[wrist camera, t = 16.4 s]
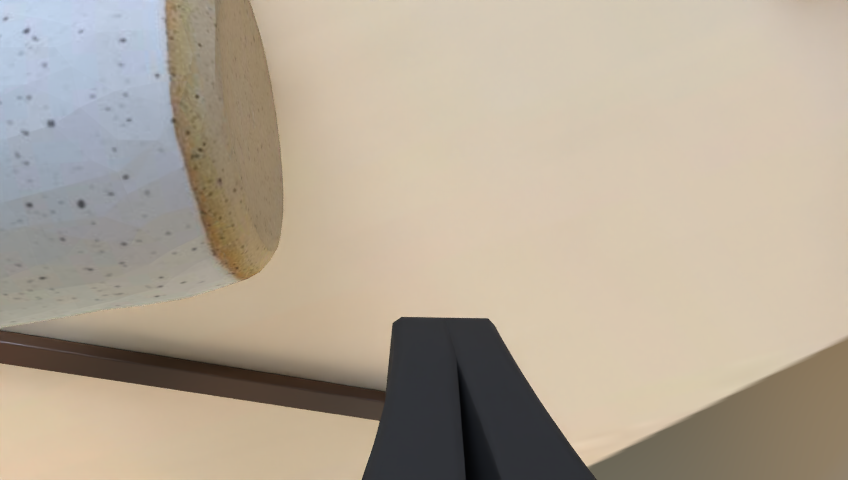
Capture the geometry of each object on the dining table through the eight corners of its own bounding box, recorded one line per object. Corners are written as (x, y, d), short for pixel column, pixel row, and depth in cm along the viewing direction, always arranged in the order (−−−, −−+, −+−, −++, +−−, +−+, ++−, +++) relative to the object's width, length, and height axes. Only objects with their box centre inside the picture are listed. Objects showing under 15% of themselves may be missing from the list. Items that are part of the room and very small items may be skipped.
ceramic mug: (308, 171, 21) (278, 380, 15) (12, 205, 21) (-139, 425, 15) (200, -302, 15) (70, -283, 9) (-218, -247, 15) (-638, -189, 9)
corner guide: (634, -107, 17) (640, -101, 17) (414, 415, 27) (415, 426, 27) (-300, -401, 14) (-320, -402, 13) (-150, 328, 24) (-158, 340, 23)
